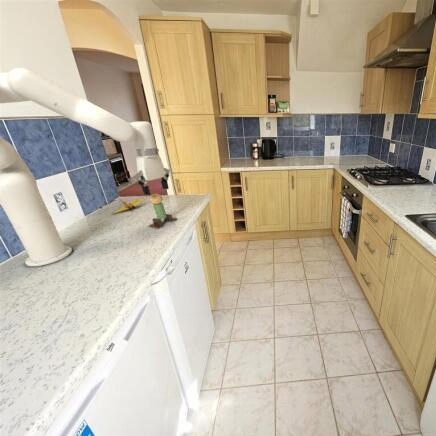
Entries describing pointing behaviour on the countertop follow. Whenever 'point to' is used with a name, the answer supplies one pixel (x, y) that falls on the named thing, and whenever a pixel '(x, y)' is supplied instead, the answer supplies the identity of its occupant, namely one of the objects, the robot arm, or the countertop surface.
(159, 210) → the peg doll
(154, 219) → the stand
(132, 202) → the origami crane
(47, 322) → the countertop surface
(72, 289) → the countertop surface
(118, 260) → the countertop surface
